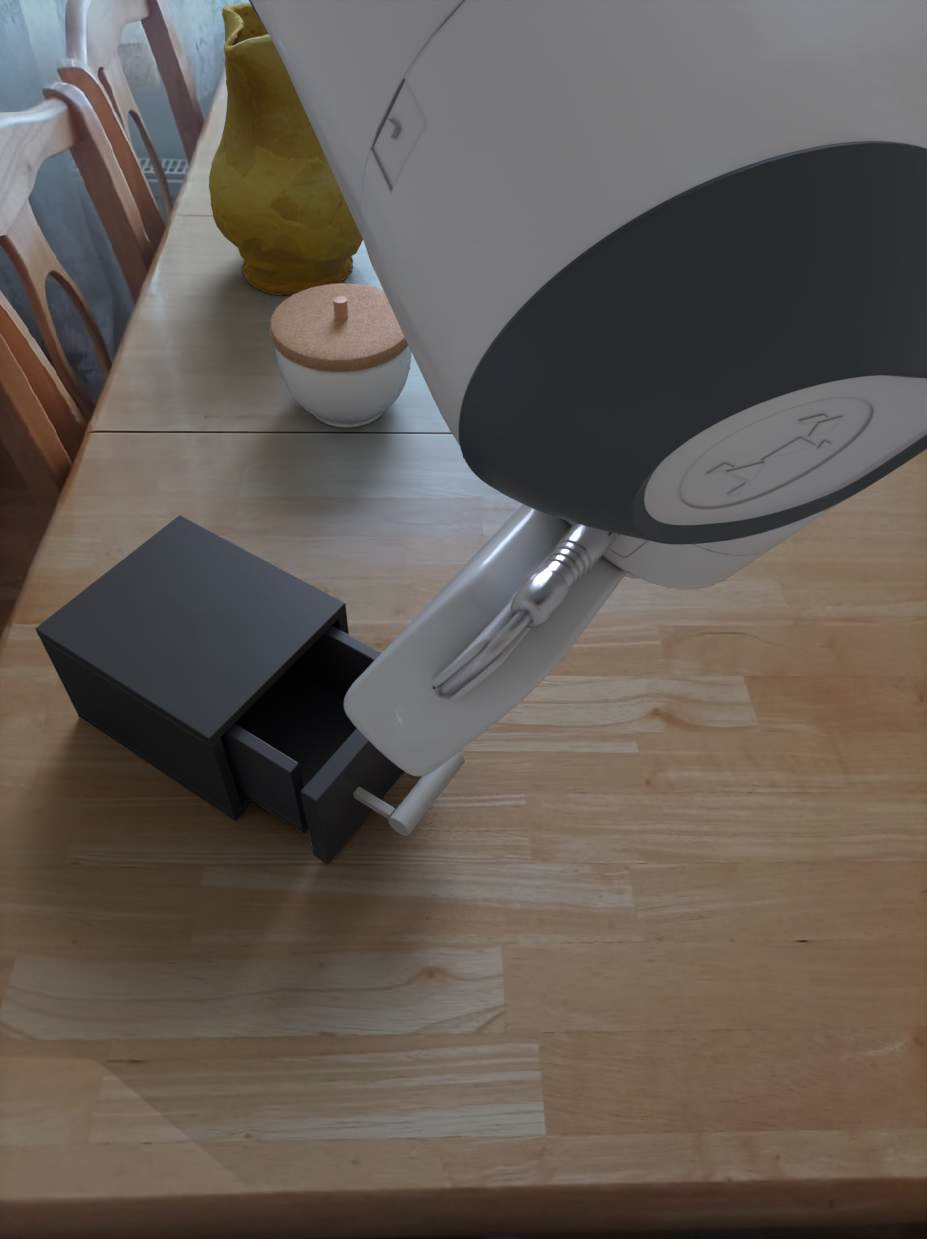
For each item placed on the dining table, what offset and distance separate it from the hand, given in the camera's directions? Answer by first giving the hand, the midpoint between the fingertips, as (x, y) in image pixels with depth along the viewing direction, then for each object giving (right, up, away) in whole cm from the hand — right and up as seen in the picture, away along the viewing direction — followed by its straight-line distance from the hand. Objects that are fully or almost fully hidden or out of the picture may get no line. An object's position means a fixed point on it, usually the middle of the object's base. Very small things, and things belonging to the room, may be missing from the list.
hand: (463, 627), depth 39 cm
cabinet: (-17, -6, +27) cm, 33 cm away
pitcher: (-18, +41, +68) cm, 81 cm away
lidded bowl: (-11, +21, +51) cm, 56 cm away
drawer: (-9, -9, +23) cm, 27 cm away
